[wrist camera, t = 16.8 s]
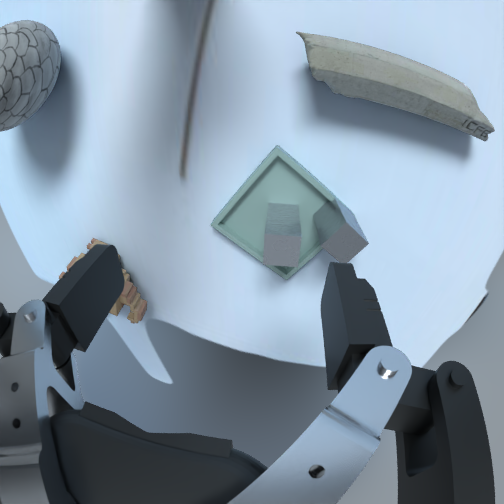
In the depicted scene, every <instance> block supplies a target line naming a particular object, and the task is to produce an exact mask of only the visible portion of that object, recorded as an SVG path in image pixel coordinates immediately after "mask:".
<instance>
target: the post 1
mask: <svg viewBox="0 0 504 504" xmlns="http://www.w3.org/2000/svg"><path fill="white" fill-rule="evenodd" d="M301 239H302V234H301V225H300V216H299V208H298V205H296V204H283V203H269V204H268V211H267V219H266V226H265V234H264V253H263V265H275V266H288V267H298V261H299V254H300V247H301Z"/></svg>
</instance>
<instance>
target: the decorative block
mask: <svg viewBox="0 0 504 504" xmlns="http://www.w3.org/2000/svg"><path fill="white" fill-rule="evenodd" d="M296 33H297V34H298V35H300V36H301V38H302V39H303V41H304V43H305V48H306V54H307V59H308V63H309V66H310V70H311V73H312V76H313V77H314V78H315V79H316V80H319V81H324V82H325V83H326V84H327V85H328V86H329V87H330V89H331V90H332V92H333V93H334V94H342V95H344V96H346V97H353V98H362V99H365V100H369V101H372V102H376V103H380V104H383V105H387V106H391V107H394V108H398V109H402V110H405V111H408V112H411V113H415V114H418V115H421V116H424V117H426V118H429V119H432V120H435V121H438V122H440V123H443V124H445V125H448V126H450V127H453V128H455V129H458V130H460V131H462V132H465V133H467V134H470V135H472V136H474V137H476V138H479V139H481V140H483V141H487V139H488V134H491V132H494V131H495V130H494V127H493V125H492V124H491V123H490V122H489V120H488V119H487V117H486V116H485V115H484V114H483V113H482V112H481V111H480V109H479V107H478V105H477V102H476V99H475V98H474V96H473V94H472V92H471V90H470V89H469V88H468V87H467V86H466V85H465V84H464V83H462V82H460V81H459V80H457V79H455V78H453V77H451V76H449V75H446V74H444V73H442V72H440V71H438V70H436V69H433V68H431V67H429V66H426V65H424V64H421V63H419V62H416V61H413V60H411V59H408V58H405V57H402V56H400V55H397V54H394V53H391V52H388V51H384V50H381V49H378V48H374V47H371V46H367V45H363V44H359V43H355V42H351V41H347V40H342V39H338V38H333V37H327V36H321V35H315V34H307V33H302V32H296Z"/></svg>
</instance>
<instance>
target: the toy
mask: <svg viewBox="0 0 504 504" xmlns="http://www.w3.org/2000/svg"><path fill="white" fill-rule="evenodd" d="M91 243H92V244H90V243H89V244H88V245H87V249H89V250H90V249H91V248H92V247H93V246H94V245H96V244H105V245H108V244H106V243H104V242H101V241H99V240H97V239H94V238H93V239H92V240H91ZM85 255H86V254H83V253H81V254H80V255H79V257H78V258H77V257H74V258H73V259H72V261H71V262H70V263H69V264H68V266H67V272H68V270H69V268H70V267H71V266H72V265H73V264H74V263H75V262H76V261H78V260H79V259H81V258H82V257H84V256H85ZM118 257H119V261H120V255H118ZM122 271H123V275H124V280H125V284H124V289H123V292H122V293H121V295H120V296H119V298H118V299H117V301H116V302H115V304H114V306H113V307H112V309H111V310H110V312H109V313H111V314H113V315H116V316H117V315H118V314H119V312H120V310H121V308H122V307H123V305H124V304H126V305H128V306H130V313H129V315H128V317H127V319H128V320H131V323H138V321H141V320H142V318H143V316H144V314H145V312H146V310H147V301H146V300H143V299H141V298H140V293H138V292H137V287H135V286H133V283H131V282H130V274H127V273H126V270H124V269H122ZM64 274H65V272H62V273H61V275H60V276H59V279H60V278H62V276H63V275H64ZM131 311H132V312H131ZM133 312H134V313H133Z"/></svg>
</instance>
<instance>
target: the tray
mask: <svg viewBox="0 0 504 504" xmlns="http://www.w3.org/2000/svg"><path fill="white" fill-rule="evenodd" d="M334 199H336V200H337V201H338V202H340V203H341V204H342V205H344V204H343V203H342V202H341V201H340V200H339V199H338V198H337V197H336V196H335V195H334V194H333V193H332V192H331V191H330V190H329V189H327V188H326V187H325V186H324V185H323V184H322V183H321V182H320V181H319V180H318V179H316V178H315V177H314V176H313V175H312V174H311V173H310V172H309V171H307V170H306V169H305V168H304V167H303V166H302V165H301V164H299V163H298V162H297V161H296V160H295V159H294V158H292V157H291V156H290V155H289V154H288V153H286V152H285V151H284V150H283V149H282V148H280V147H279V146H278V145H277V146H276V147H275V148H274V149H273V150H272V151H271V152H270V153H269V155H268V156H267V157H266V158H265V159H264V160H263V161H262V163H261V164H260V165H259V166H258V167H257V168H256V169H255V171H254V172H253V173H252V174H251V175H250V176H249V178H248V179H247V180H246V181H245V182H244V183H243V185H242V186H241V187H240V188H239V189H238V191H237V192H236V193H235V194H234V195H233V197H232V198H231V199H230V200H229V201H228V203H227V204H226V205H225V206H224V207H223V209H222V210H221V211H220V212H219V214H218V215H217V216H216V217H215V218H214V220H213V222H212V223H211V226H212V227H214V228H215V229H216V230H218V231H219V232H220V233H222V234H223V235H225V236H226V237H227V238H229V239H230V240H231V241H233V242H234V243H236V244H237V245H238V246H240V247H241V248H243V249H244V250H245V251H247V252H248V253H249V254H251V255H252V256H254V257H255V258H256V259H258V260H259V261H260V262H262V263H263V253H264V234H265V226H266V219H267V211H268V204H269V203H283V204H296V205H298V208H299V216H300V225H301V234H302V239H301V247H300V254H299V261H298V267H288V266H275V265H266V266H267V267H269V268H270V269H272V270H273V271H274V272H276V273H277V274H278V275H280V276H281V277H283V278H284V279H285V280H287V279H289V278H290V277H291V276H292V275H293V274H294V273H296V272H297V271H298V270H299V269H300V268H301V267H302V266H304V265H305V264H306V263H307V262H308V261H309V260H310V259H312V258H313V257H314V256H315V255H316V254H317V253H318V252H319V251H321V250H322V249H323V248H322V247H321V246H320V241H319V237H318V233H317V228H316V224H315V220H314V216H313V214H314V213H315V212H317V211H318V210H319V209H320V208H321V207H322V206H323V205H324V204H325V203H326V202H327V201H328V200H330V201H333V200H334ZM344 206H345V205H344ZM345 207H347V206H345ZM347 208H348V207H347ZM348 209H349V208H348ZM349 210H350V209H349ZM350 211H351V210H350ZM352 213H353V212H352ZM353 215H354V214H353ZM354 217H355V216H354Z"/></svg>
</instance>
